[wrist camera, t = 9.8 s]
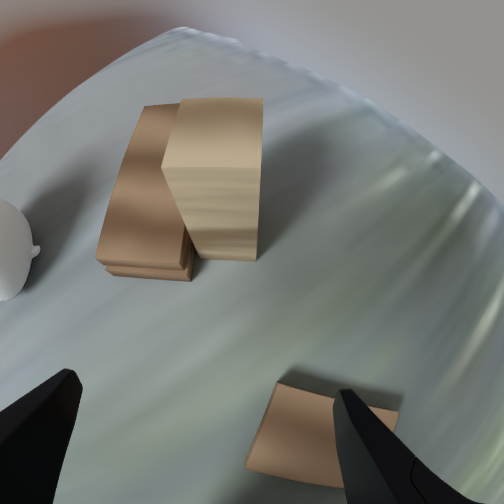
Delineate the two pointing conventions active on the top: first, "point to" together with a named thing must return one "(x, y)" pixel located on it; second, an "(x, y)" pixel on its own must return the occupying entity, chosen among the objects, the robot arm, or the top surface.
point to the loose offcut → (301, 437)
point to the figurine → (14, 250)
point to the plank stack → (146, 209)
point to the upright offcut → (217, 174)
